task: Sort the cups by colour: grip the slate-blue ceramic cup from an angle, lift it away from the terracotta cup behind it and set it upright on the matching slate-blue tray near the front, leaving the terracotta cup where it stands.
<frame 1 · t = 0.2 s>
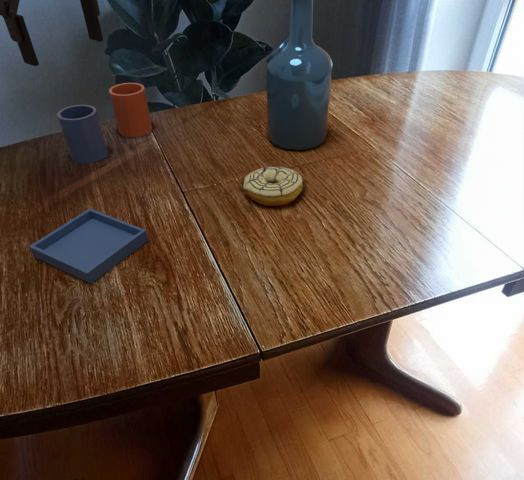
hand: (65, 51, 77), 22 cm above the table, tool pointing down, fingers open, 13 cm apart
decorated donut: (273, 195, 87), on the table
blue tray: (92, 248, 77), on the table
blue cup: (91, 161, 97), on the table
wine bottle: (296, 139, 103), on the table
terracotta cup: (137, 136, 105), on the table
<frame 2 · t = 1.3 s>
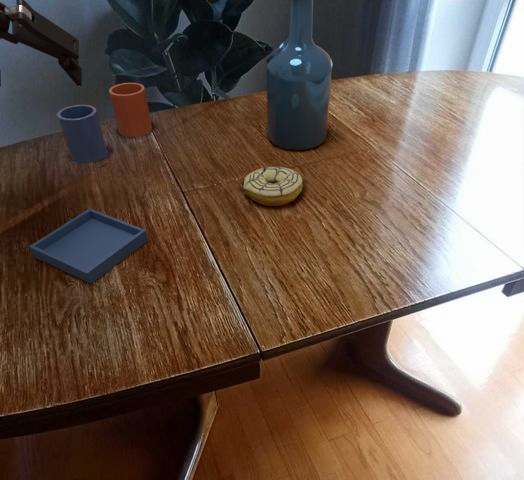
hand: (38, 77, 76), 19 cm above the table, tool tilted 45°, fingers open, 13 cm apart
nothing on the table moved.
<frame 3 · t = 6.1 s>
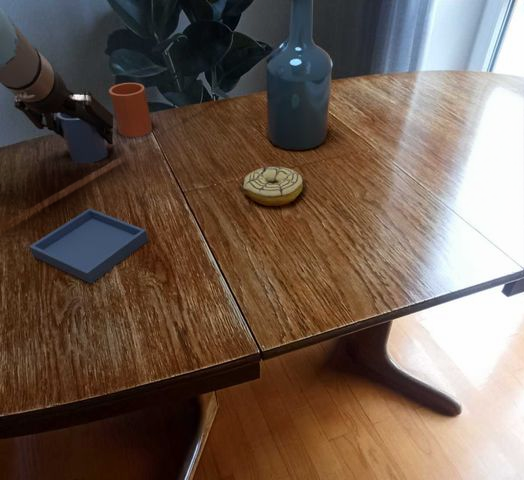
hand: (91, 137, 97), 4 cm above the table, tool tilted 45°, fingers closed on blue cup, 7 cm apart
blue cup: (91, 161, 97), on the table, touching gripper
everything else where it was.
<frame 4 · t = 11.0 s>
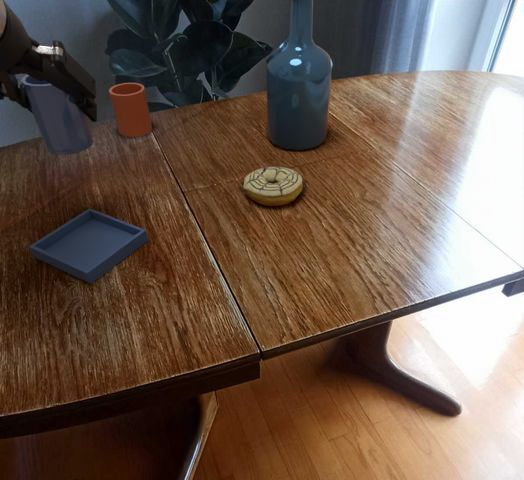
hand: (69, 113, 75), 16 cm above the table, tool tilted 45°, fingers closed on blue cup, 7 cm apart
blue cup: (70, 144, 75), point 12 cm above the table, touching gripper
everything else where it was.
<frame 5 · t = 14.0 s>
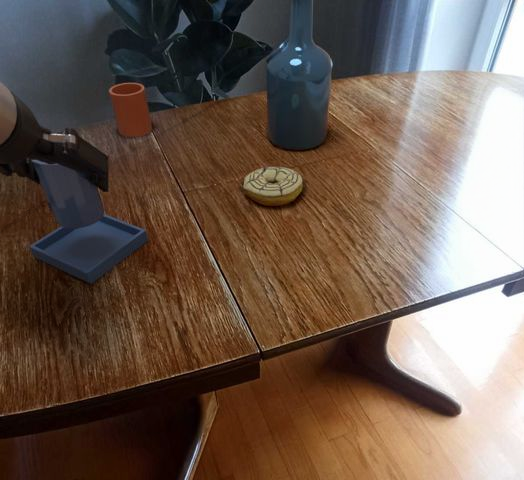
hand: (79, 182, 72), 10 cm above the table, tool tilted 45°, fingers closed on blue cup, 7 cm apart
blue cup: (80, 215, 72), point 6 cm above the table, touching gripper
everything else where it was.
when the fingers open (4 cm above the table, at t = 16.1 s): blue cup stays where it is, resting on blue tray.
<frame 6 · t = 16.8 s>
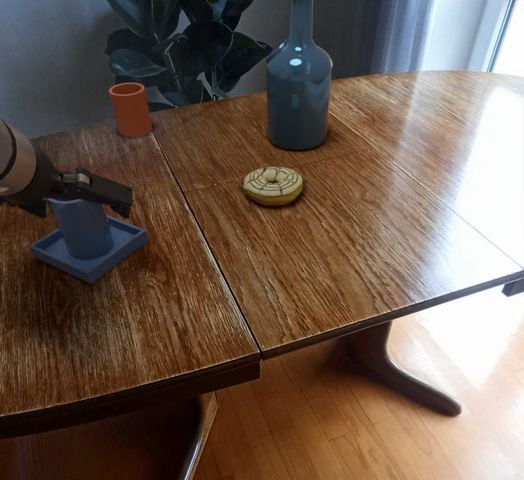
hand: (85, 209, 74), 6 cm above the table, tool tilted 45°, fingers open, 13 cm apart
blue cup: (91, 246, 76), point 1 cm above the table, touching blue tray
everything else where it was.
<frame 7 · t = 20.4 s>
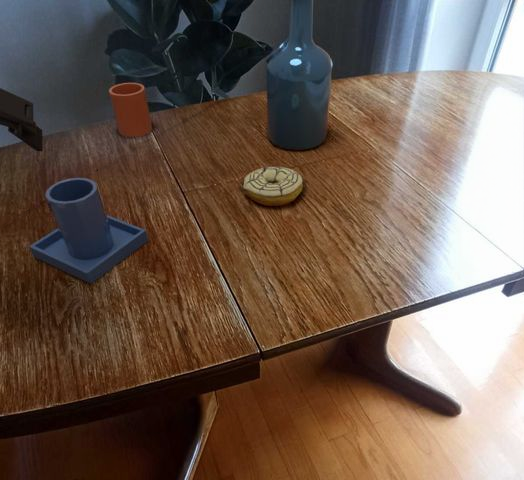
nothing on the table moved.
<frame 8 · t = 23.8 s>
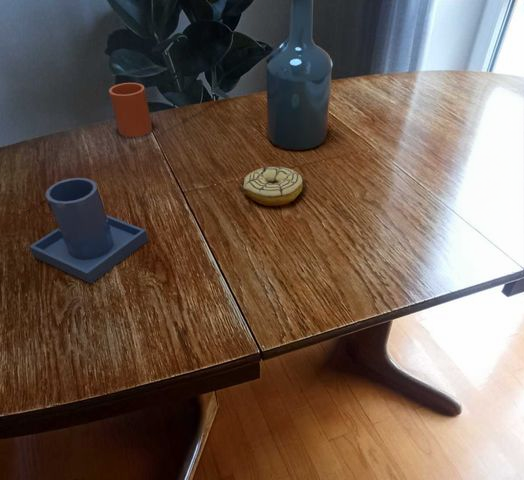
nothing on the table moved.
at the end: blue cup 0.1 cm off-centre in the blue tray, point 0.6 cm above the blue tray's base; blue cup tilted 0°; terracotta cup moved 0.0 cm from its start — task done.
